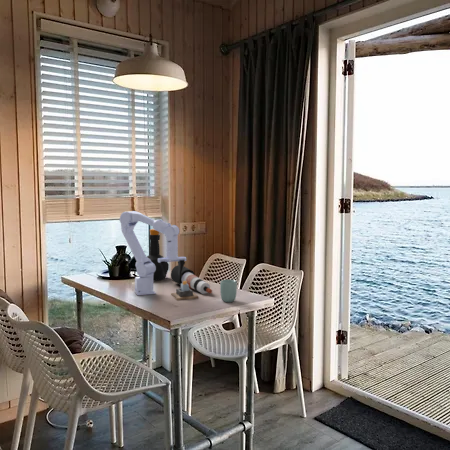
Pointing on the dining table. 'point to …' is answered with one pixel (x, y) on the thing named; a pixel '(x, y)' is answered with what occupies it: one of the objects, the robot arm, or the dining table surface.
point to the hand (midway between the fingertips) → (172, 275)
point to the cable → (190, 280)
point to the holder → (184, 294)
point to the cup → (228, 290)
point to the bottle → (156, 255)
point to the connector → (184, 286)
